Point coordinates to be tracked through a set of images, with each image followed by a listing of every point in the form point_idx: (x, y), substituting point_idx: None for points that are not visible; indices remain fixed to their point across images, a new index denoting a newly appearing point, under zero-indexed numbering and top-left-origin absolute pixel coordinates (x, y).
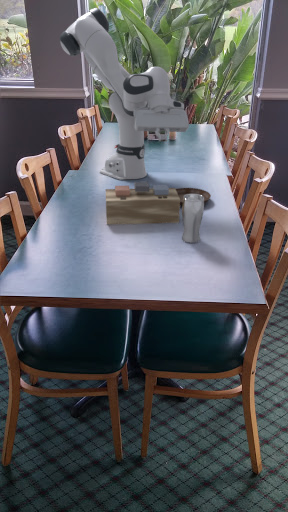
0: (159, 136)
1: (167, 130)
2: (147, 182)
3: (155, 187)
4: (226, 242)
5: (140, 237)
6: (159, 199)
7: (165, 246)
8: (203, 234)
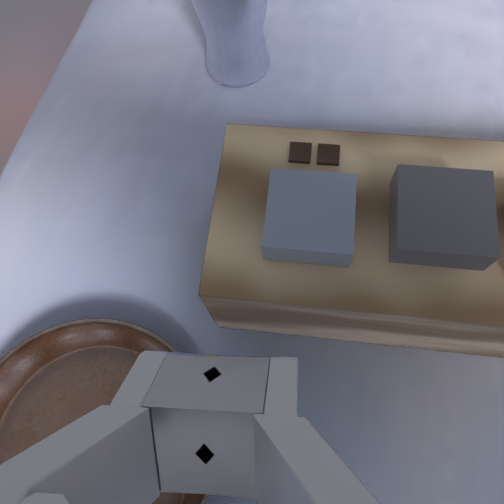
0: (296, 389)
1: (16, 501)
2: (402, 232)
3: (346, 210)
4: (130, 33)
5: (415, 93)
6: (335, 134)
7: (336, 30)
8: (180, 89)
